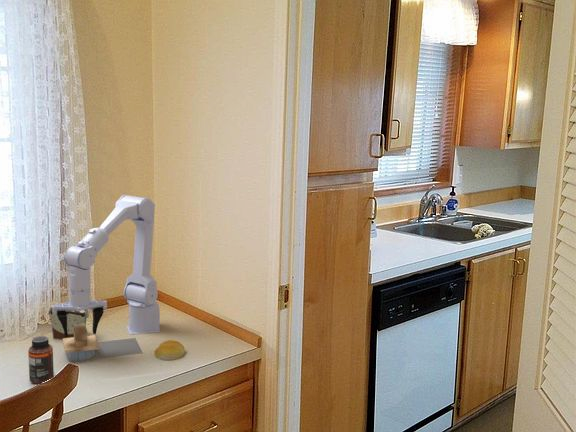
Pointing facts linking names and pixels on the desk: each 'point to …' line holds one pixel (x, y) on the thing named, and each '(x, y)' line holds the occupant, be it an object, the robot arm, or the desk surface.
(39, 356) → the supplement bottle
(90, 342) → the lid
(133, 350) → the mat
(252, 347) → the desk surface
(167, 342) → the bread roll
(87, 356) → the bowl
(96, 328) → the robot arm
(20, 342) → the desk surface
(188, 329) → the desk surface
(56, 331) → the food container
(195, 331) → the desk surface
